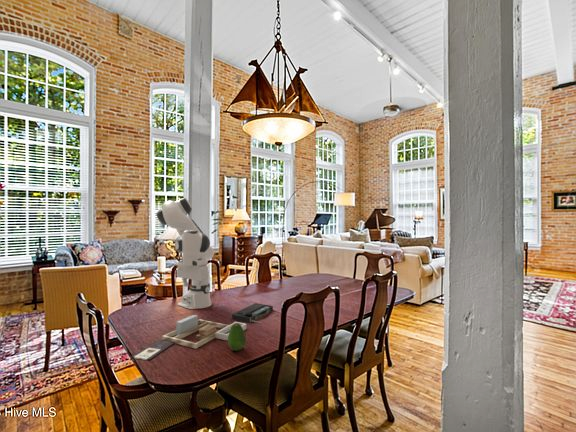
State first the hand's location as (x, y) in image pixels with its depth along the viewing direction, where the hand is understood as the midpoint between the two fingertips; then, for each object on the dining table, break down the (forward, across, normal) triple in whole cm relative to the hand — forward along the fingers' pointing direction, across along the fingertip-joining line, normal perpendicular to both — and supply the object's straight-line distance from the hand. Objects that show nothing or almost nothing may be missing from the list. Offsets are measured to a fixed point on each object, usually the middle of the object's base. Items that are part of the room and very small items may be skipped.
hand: (192, 287), depth 160 cm
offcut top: (+21, +13, -2) cm, 24 cm away
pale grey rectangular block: (+22, 0, -3) cm, 23 cm away
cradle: (+23, +20, +8) cm, 31 cm away
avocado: (+23, +35, -5) cm, 42 cm away
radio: (+23, +14, +37) cm, 46 cm away
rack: (+22, +7, -3) cm, 23 cm away
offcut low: (+23, +13, -2) cm, 26 cm away
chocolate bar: (+23, +4, -25) cm, 34 cm away
